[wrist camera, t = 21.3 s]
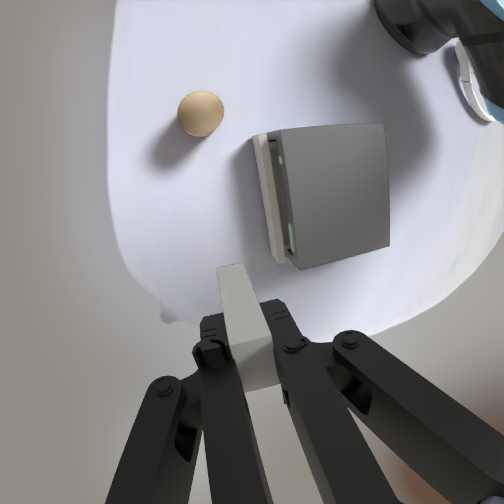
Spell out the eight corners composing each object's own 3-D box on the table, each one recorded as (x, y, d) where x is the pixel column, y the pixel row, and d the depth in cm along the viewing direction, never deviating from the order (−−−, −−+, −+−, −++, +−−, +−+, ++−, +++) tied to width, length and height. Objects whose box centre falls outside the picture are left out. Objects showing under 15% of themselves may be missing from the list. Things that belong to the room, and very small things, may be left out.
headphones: (441, 39, 32) (465, 127, 41) (470, 37, 25) (493, 133, 34) (478, 39, 32) (497, 111, 41) (503, 39, 25) (520, 116, 34)
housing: (355, 125, 36) (383, 123, 30) (364, 231, 42) (389, 246, 36) (263, 133, 34) (278, 130, 28) (281, 251, 41) (297, 271, 34)
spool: (177, 104, 31) (174, 95, 25) (216, 97, 31) (219, 86, 26) (184, 140, 33) (181, 138, 27) (222, 132, 33) (227, 129, 28)
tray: (345, 126, 35) (359, 124, 32) (354, 234, 42) (367, 242, 38) (252, 136, 34) (258, 134, 30) (271, 254, 40) (278, 264, 37)
